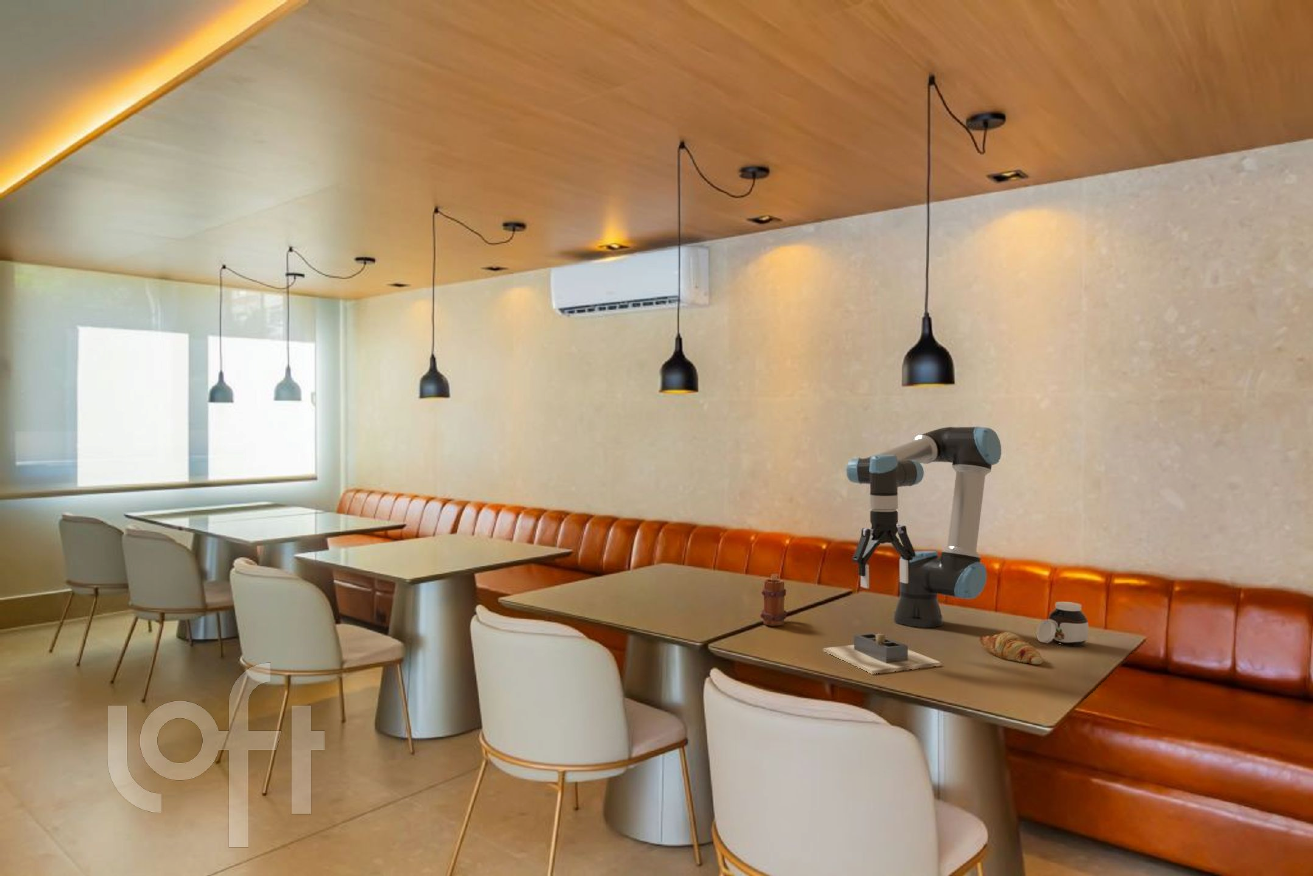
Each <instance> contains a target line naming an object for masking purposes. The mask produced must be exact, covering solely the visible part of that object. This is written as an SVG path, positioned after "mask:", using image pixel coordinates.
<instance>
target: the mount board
mask: <svg viewBox="0 0 1313 876" xmlns="http://www.w3.org/2000/svg"><path fill="white" fill-rule="evenodd" d="M885 637H886V635H885V634H884V633H876V642H878V643H883V642H885ZM823 651H824V652H827V653H828V654H827V653H826V654H827V655H829V654H831V655H833V656H835V657H837V658H839V659H841V660H840V661H842V660H844V661H846V662H848V663H851V664H852V665H854V666H857V667H858V668H857V667H856V668H857V669H859V668H861V669H863V670H865V671H867V672H868V673H867V672H866V673H867V674H869V673H871V674H870V675H879V674H878V673H880V674H886V673H888V674H889V673H895V671H896V672H901V671H902V672H903V670H904V671H910V670H909V669H912V670H920V669H926V668H934V667H933V666H936V667H941V661H939V660H936V659H934V658H931V657H929V656H926V655H925V654H924V655H923V654H921V653H918V652H916V651H914V650H911V649H908V661H902V662H893V663H884V662H882V661H879V660H877V659H875V658H873V657H870V656H868V655H866V654H863V653H861V652H859V651H856V650H854V644H850V645H849V644H848V645H841V646H832V647H824V648H823V647H822V652H823ZM824 652H823V653H824ZM831 655H830V656H831ZM833 656H832V657H833ZM835 657H834V658H835ZM837 658H836V659H837ZM839 659H838V660H839ZM844 661H843V662H844ZM846 662H845V663H846ZM848 663H847V664H848ZM852 665H851V666H852ZM854 666H853V667H854ZM919 668H920V669H919ZM861 669H860V670H861ZM863 670H862V671H863ZM865 671H864V672H865ZM876 673H877V674H876Z"/></svg>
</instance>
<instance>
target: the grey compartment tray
mask: <svg viewBox="0 0 1313 876" xmlns="http://www.w3.org/2000/svg"><path fill="white" fill-rule="evenodd" d="M876 634H877V633H875V632H873V633H865V634H863V633H862V634H854V635H853V645H854V650H856V651H859V652H861V653H863V654H866V655H868V656H870V657H873V658H875V659H877V660H879V661H882V662H884V663H893V662H902V661H908V650H909V646H908V645H907V644H904V643H902V642H899V641H897V640H894V639H891V638H888V637H886V636H885V642H883V643H878V642H876Z"/></svg>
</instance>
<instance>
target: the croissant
mask: <svg viewBox="0 0 1313 876" xmlns="http://www.w3.org/2000/svg"><path fill="white" fill-rule="evenodd" d="M979 641H980V644H981V645H982V646H983V648H984V650H985V651H986V652H987V653H990V654H991V655H992V654H993V656H995V655H996V656H995V657H998V658H1001V659H1003V660H1006V661H1013V662H1018V663H1024V664H1027V663H1028V664H1030V665H1040V664H1042V663H1043V662H1044V660H1043V656H1042V655H1041V653H1040V651H1038V650H1037V649H1036V648H1035V647H1034V646H1033V644H1032V643H1031V642H1027V641H1024V639H1023V638H1022V637H1021V636H1020V635H1017V634H1015V633H1012V632H1009V631H1002V632H1000V633H998V634H997V633H996V634H994V635H986V636H979Z"/></svg>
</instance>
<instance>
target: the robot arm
mask: <svg viewBox="0 0 1313 876" xmlns="http://www.w3.org/2000/svg"><path fill="white" fill-rule="evenodd" d="M1001 457H1002V445H1001V441H1000V438H999V435H998V434H997V432H996V431H995V430H994V429H993V428H991V427H982V426H981V427H980V426H956V427H955V426H947V427H940V428H936V429H934V430H930V431H928V432H925V433H922V434H920V435H917V436H915V437H914V438H913V439H912V441H910V442H907V443H905V444H901V445H898V446H896V447H893V448H891V449H888V450H885V451H882V452H880V453H878V454H873V455H872V456H869V457H866V458H861V457H859V458H851V459H850V460H849V461H848V463H847V464H846V469H845V471H846V476H847V479H848V480H849V481H850V482H851V483H855V484H859V485H862V484H863V485H869V490H870V491H869V508H870V509H871V510H870V511H869V519H870V520H869V522H870V523H871V524H870V525H871V527H870V528H867V527H865V528H864V527H862V528H861V533H860V538H859V541H858V543H857V546H856V547H855V548H856V549H855V551H854V553H853V556H852V558H851V561H852V562H853V563H856V564H858V576H860V587H861V588H865V589H869V588H870V569H869V568H870V565H869V563H868V561H869V560H870V558H871V557H872V555H873V554H874V552H875V551H876V549H877V547H879V546H880V545H881V544H882V545H883V544H887V543H888V544H891V545H892V547H893V548H894V549H895V551H897V553H898V554H899V556H900V558H899V598H898V601H897V604H896V608H895V611H894V613H893V621H894V622H895V621H896V622H895V623H897V624H899V623H900V625H902V624H905V625H904V626H906V625H908V626H907V627H913V626H919V627H918V628H934V627H933V626H938V627H941V626H942V625H943V623H944V618H943V615H942V611H941V607H940V605H939V601H938V595H942V596H947V597H953V598H957V599H966V600H972V599H975V598H977V597H978V596H979V595H980V594H981V593H982V592H983V590H984V588H985V586H986V582H987V577H988V576H987V575H988V572H987V568H986V566H985V564H984V563H982V562H981V555H980V554H979V553H978V552H977V547H978V539H979V530H980V525H981V524H980V523H981V515H982V513H981V512H982V507H983V497H984V489H985V481H986V476H987V475H988V474H990V473H991V472H992V466H993V465H997V464H998V463H999V462H1000V459H1001ZM931 463H952V465H951V467H952V469H953V470H954V471H955V473H956V474H955V480H954V490H953V497H952V505H951V514H950V522H949V527H948V528H949V529H948V535H947V536H948V538H947V544H946V545H947V546H946V547H945V548H944V549H942V550H941V552H940V556H939V553H938V551H936V550H917V551H915V548H914V546H913V544H912V541H911V540H910V537H909V535H908V533H907V532H908V531H907V526H906V525H903V524H902V525H901V524H899V512H898V511H897V509H899V497H898V494H899V493H898V491H899V490H898V489H899V487H901V488H902V487H912V486H914V485H918V484H920V483H921V482H922V480H923V479H924V476H925V472H924V467H923V465H922V464H925V465H926V464H931ZM897 524H898V525H897ZM897 534H898V536H897ZM867 563H868V564H867ZM941 624H942V625H941ZM940 625H941V626H940Z"/></svg>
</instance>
